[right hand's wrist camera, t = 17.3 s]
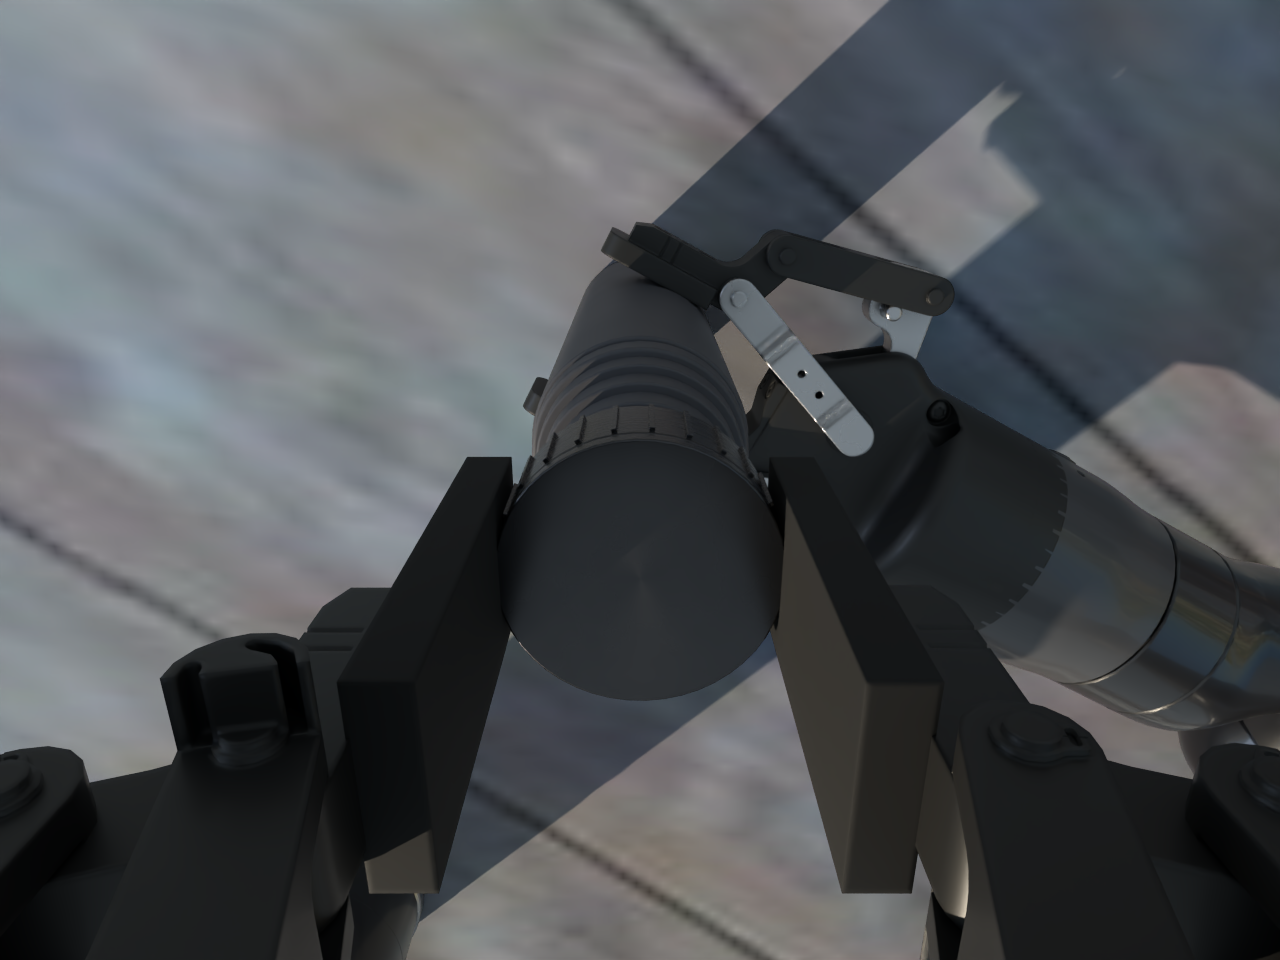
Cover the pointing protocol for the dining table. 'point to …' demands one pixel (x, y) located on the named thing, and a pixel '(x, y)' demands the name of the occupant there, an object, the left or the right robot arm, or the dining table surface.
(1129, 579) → the left robot arm
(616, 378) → the bottle
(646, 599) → the cap
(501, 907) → the dining table surface
